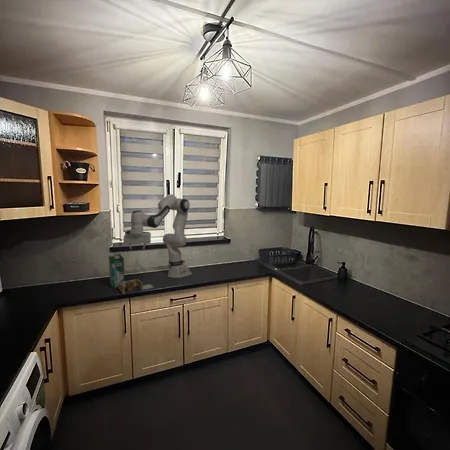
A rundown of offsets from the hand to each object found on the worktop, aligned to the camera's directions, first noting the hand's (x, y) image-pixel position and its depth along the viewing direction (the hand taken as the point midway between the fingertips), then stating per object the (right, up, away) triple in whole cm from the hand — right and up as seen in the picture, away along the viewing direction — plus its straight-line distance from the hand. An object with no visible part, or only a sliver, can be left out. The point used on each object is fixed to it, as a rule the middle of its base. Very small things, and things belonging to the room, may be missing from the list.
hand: (137, 249), depth 199 cm
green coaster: (+5, -32, +8) cm, 33 cm away
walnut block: (-6, -32, +3) cm, 33 cm away
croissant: (-6, -32, +3) cm, 33 cm away
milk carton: (-21, -31, +13) cm, 40 cm away
